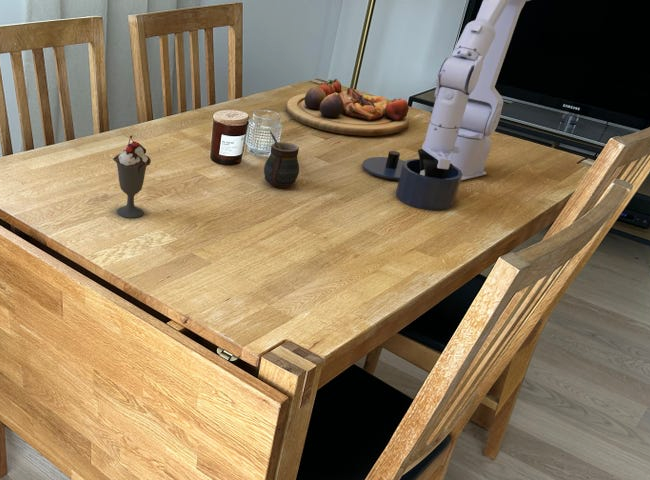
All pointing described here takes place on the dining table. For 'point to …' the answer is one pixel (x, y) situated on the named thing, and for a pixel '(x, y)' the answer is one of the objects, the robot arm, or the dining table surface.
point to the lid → (385, 165)
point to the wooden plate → (348, 111)
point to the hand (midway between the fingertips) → (426, 190)
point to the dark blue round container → (427, 187)
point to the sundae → (131, 176)
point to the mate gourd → (282, 164)
